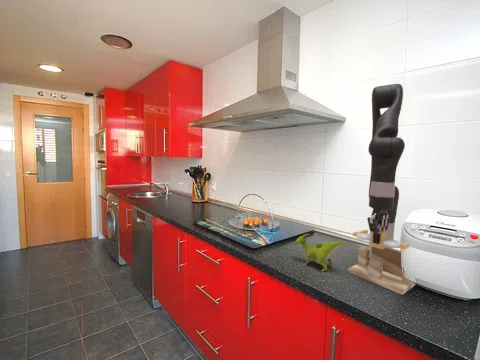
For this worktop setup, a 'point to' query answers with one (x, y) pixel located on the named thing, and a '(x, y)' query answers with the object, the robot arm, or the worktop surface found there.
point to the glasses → (383, 241)
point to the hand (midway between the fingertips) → (377, 242)
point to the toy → (319, 251)
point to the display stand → (382, 269)
